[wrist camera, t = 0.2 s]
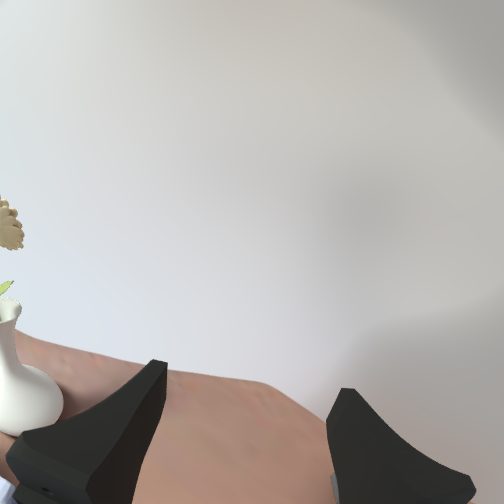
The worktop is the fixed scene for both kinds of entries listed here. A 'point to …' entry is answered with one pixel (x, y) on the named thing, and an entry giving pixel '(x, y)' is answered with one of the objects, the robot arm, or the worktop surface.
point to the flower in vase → (7, 363)
